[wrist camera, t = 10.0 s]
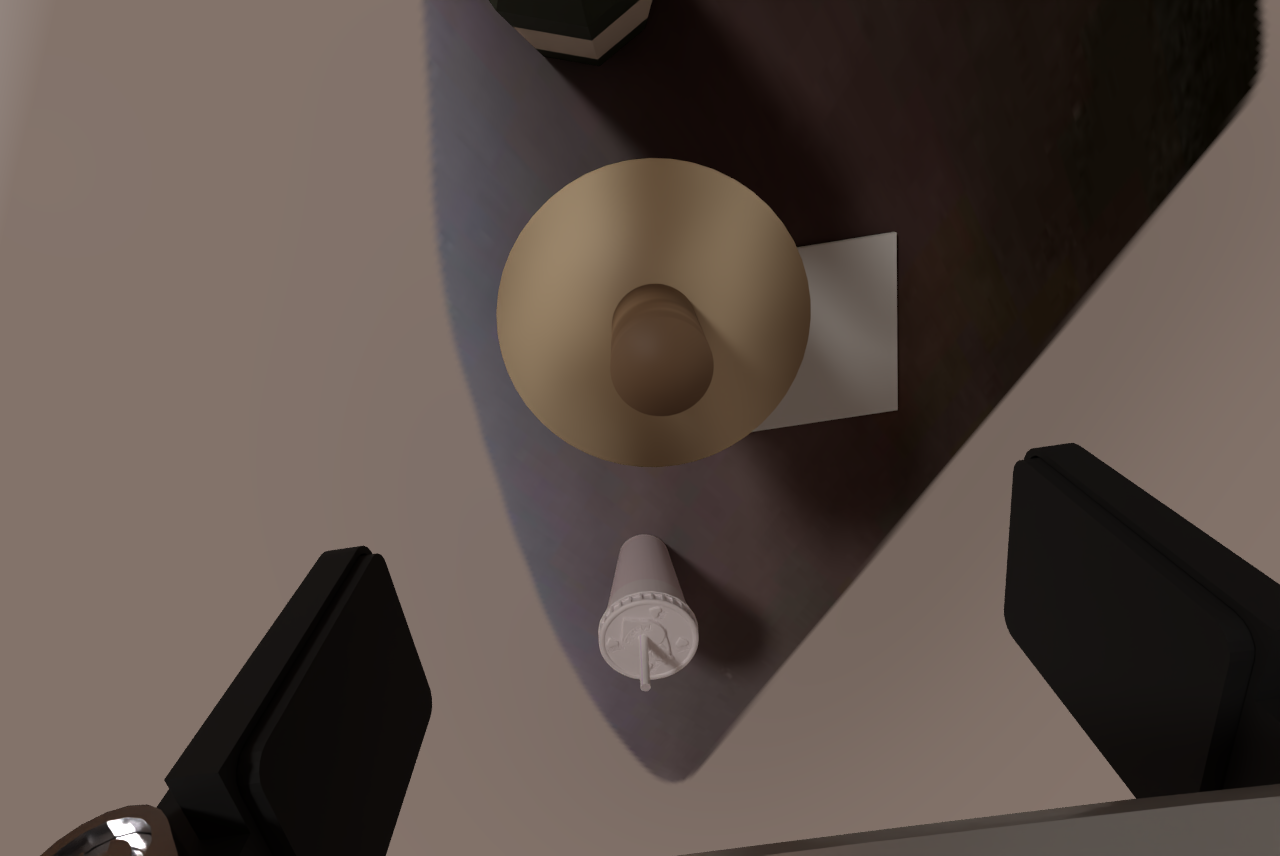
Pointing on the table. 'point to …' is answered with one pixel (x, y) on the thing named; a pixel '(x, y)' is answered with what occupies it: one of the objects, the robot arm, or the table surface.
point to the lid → (653, 312)
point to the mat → (846, 334)
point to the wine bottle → (576, 26)
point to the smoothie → (647, 615)
